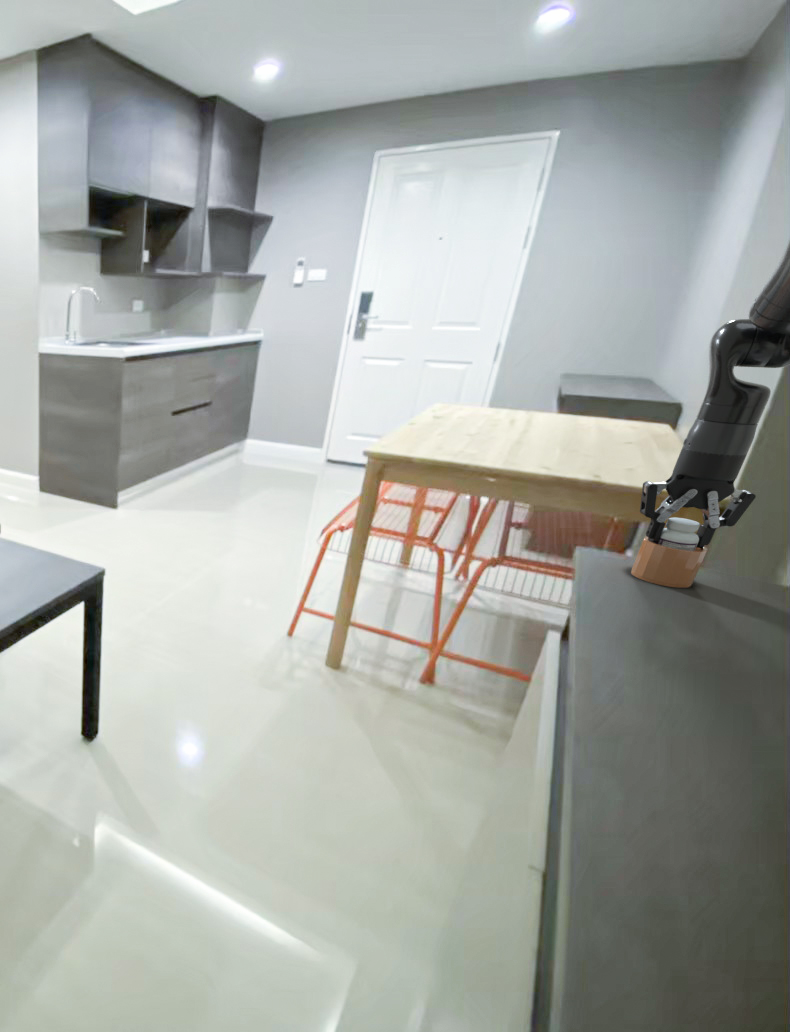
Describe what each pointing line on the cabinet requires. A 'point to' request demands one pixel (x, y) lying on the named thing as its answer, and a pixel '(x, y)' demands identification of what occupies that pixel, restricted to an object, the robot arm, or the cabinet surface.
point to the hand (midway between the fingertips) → (675, 543)
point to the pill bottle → (680, 534)
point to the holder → (667, 564)
